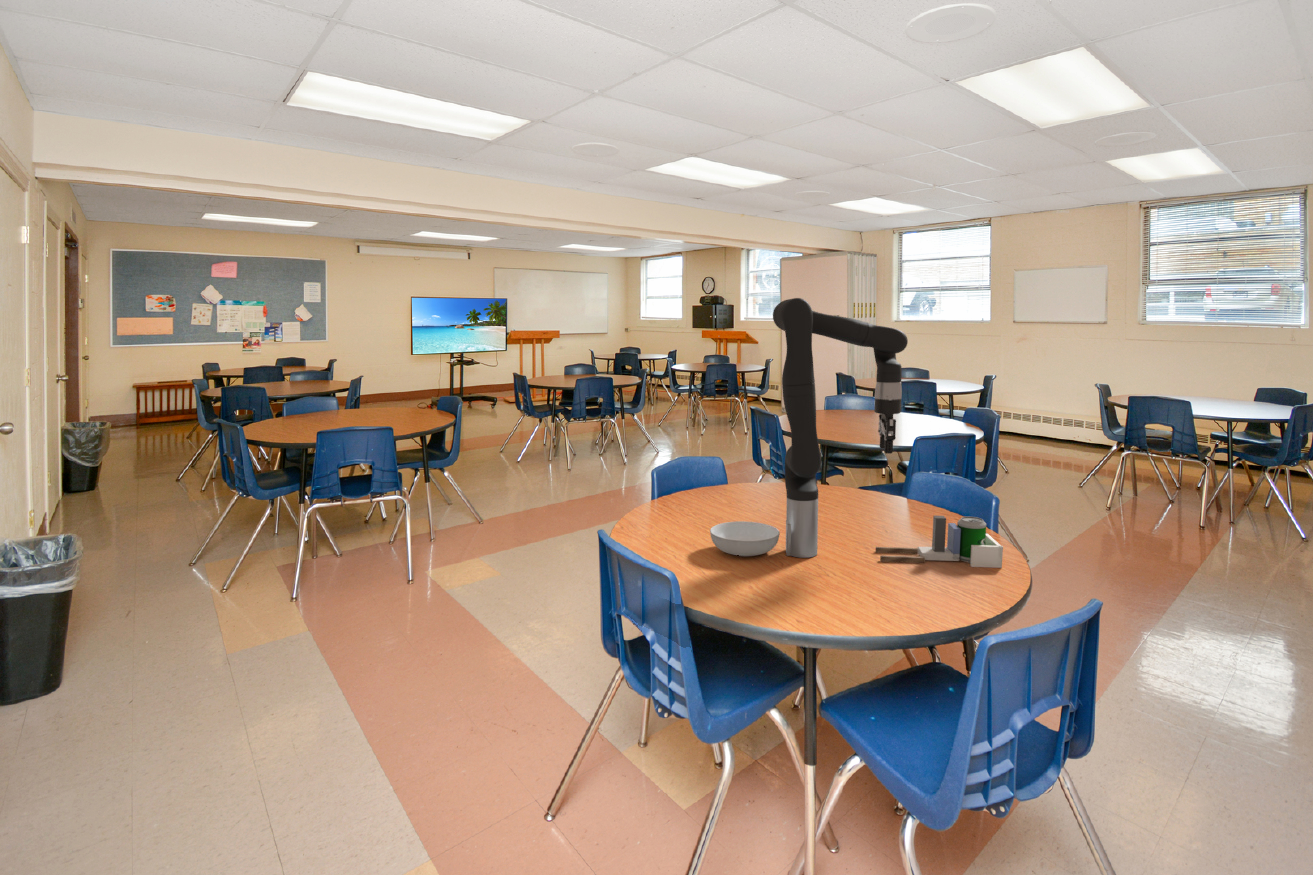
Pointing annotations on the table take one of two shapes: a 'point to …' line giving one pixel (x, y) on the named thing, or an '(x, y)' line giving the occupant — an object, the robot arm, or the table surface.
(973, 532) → the soda can
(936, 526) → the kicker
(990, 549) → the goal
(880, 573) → the table surface
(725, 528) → the serving bowl
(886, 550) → the track
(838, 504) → the table surface
